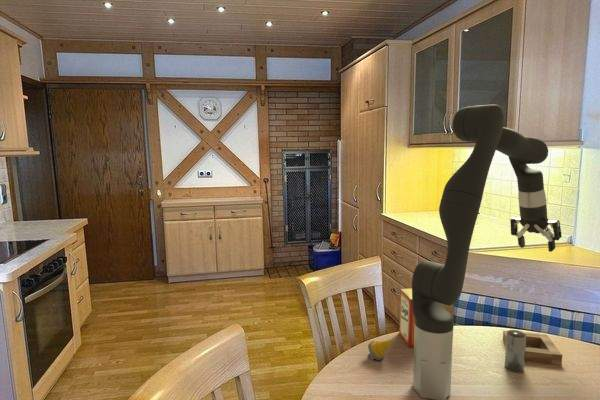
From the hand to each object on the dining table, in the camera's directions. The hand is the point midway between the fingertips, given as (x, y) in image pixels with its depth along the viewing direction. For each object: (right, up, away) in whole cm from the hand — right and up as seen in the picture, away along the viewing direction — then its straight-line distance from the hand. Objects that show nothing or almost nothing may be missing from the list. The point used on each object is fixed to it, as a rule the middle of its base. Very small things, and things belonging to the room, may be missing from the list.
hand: (536, 248), depth 128 cm
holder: (-8, -30, -10) cm, 32 cm away
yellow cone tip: (-54, -31, -12) cm, 64 cm away
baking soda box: (-41, -30, -2) cm, 51 cm away
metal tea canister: (-18, -31, -18) cm, 40 cm away
